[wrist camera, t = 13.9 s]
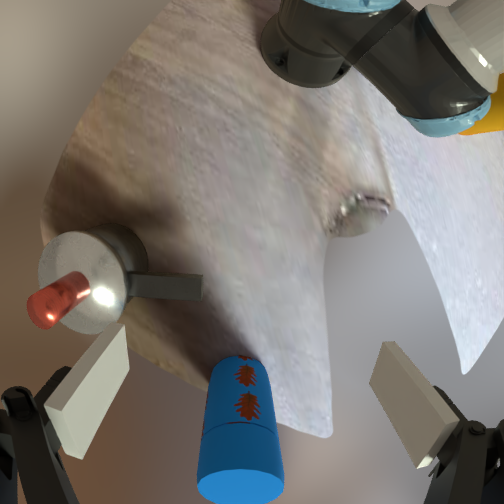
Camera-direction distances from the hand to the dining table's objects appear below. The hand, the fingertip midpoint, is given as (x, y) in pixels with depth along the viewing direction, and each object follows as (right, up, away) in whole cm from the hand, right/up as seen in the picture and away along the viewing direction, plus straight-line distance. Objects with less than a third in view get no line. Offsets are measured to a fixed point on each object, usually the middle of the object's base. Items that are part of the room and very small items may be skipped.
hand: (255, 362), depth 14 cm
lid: (-23, +1, +21) cm, 31 cm away
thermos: (-2, -18, +38) cm, 42 cm away
